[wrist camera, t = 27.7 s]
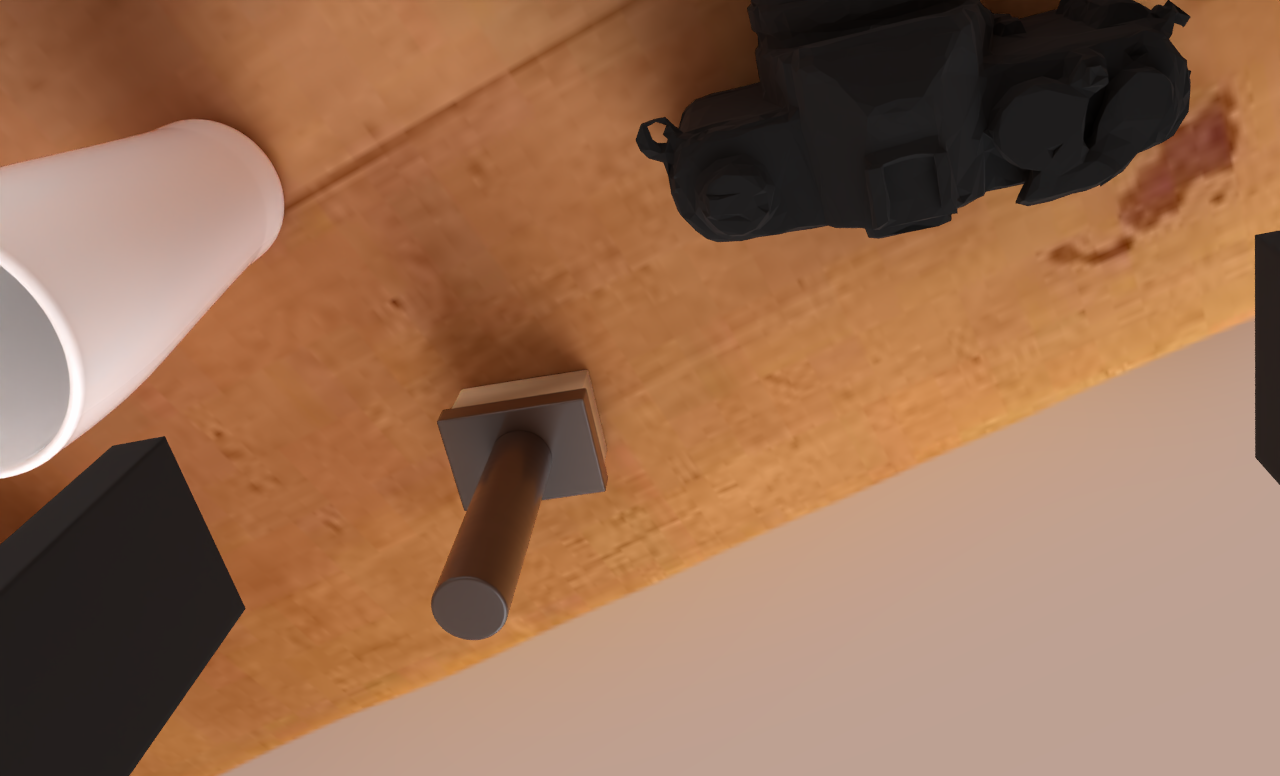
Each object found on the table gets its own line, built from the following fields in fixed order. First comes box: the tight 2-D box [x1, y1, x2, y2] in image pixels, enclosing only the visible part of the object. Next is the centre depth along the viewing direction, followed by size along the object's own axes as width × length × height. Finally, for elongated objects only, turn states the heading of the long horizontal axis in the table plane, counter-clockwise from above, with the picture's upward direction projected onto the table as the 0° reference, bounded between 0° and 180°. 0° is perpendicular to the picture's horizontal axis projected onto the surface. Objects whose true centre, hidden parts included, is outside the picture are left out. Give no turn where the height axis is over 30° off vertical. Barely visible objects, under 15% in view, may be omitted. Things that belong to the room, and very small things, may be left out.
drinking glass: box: [0, 119, 284, 479], centre depth 31 cm, size 7×7×15 cm
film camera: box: [636, 0, 1191, 242], centre depth 30 cm, size 15×10×9 cm, turn 104°
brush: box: [431, 370, 608, 640], centre depth 35 cm, size 5×4×12 cm
